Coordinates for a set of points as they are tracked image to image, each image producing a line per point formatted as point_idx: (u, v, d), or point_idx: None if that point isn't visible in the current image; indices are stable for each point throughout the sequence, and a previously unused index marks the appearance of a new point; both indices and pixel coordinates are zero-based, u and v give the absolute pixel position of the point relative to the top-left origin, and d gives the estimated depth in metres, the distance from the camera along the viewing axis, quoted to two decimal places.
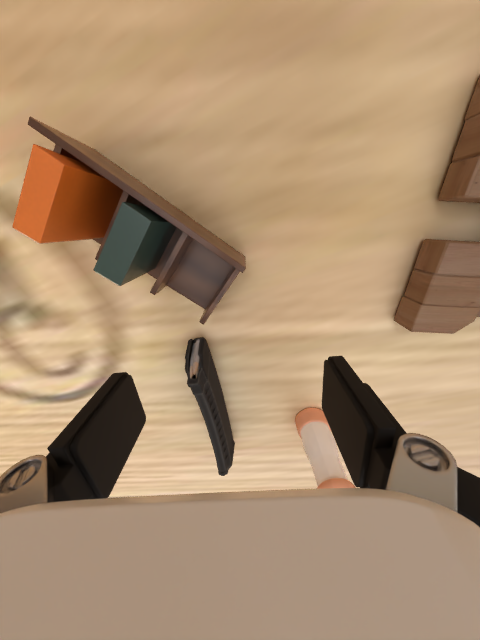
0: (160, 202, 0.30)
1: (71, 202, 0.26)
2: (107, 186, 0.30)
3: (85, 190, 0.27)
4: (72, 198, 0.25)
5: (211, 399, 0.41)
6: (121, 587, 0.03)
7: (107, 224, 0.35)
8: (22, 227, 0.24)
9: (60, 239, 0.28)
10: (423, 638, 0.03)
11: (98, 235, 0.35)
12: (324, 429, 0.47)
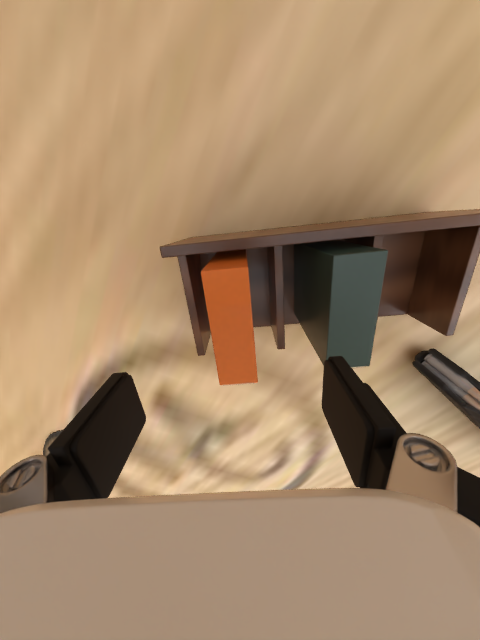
0: (324, 226, 0.20)
1: None
2: None
3: None
4: None
5: None
6: (121, 587, 0.03)
7: None
8: (231, 378, 0.17)
9: None
10: (423, 638, 0.03)
11: None
12: None
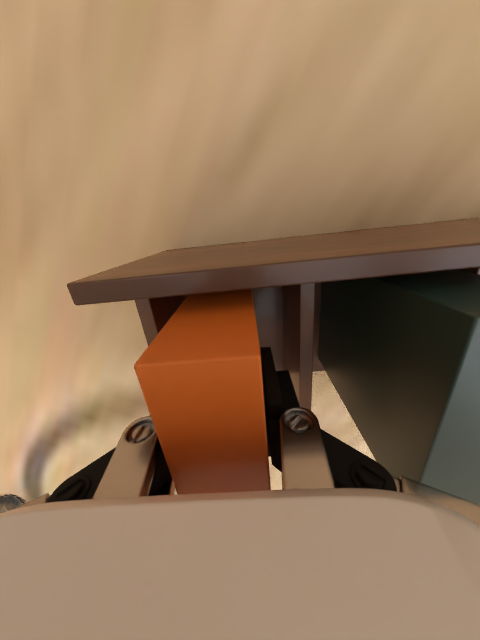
0: (392, 236, 0.11)
1: None
2: None
3: None
4: None
5: None
6: (121, 587, 0.03)
7: None
8: None
9: None
10: (423, 638, 0.03)
11: None
12: None
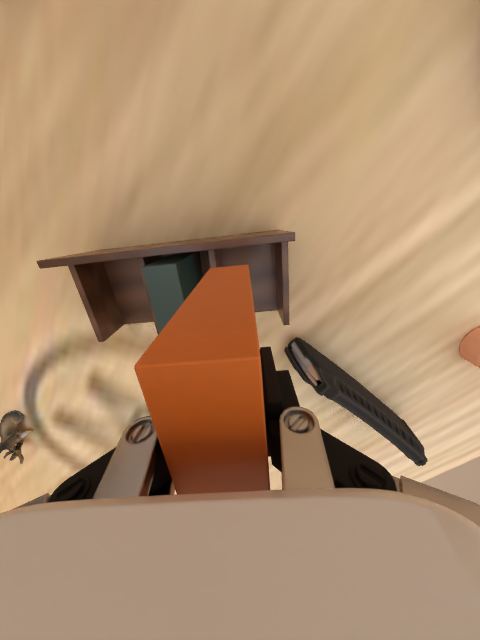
0: None
1: None
2: None
3: None
4: None
5: (351, 392, 0.34)
6: (121, 587, 0.03)
7: None
8: None
9: None
10: (422, 637, 0.03)
11: None
12: None
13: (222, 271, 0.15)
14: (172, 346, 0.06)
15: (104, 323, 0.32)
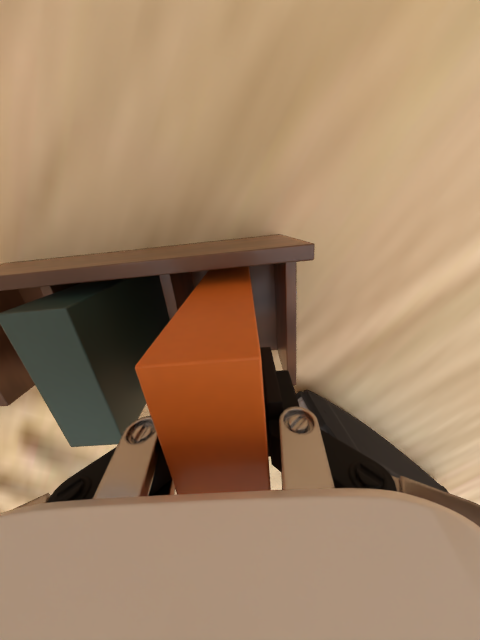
0: (95, 259, 0.16)
1: None
2: None
3: None
4: None
5: None
6: (121, 587, 0.03)
7: None
8: None
9: None
10: (423, 638, 0.03)
11: None
12: None
13: (222, 271, 0.15)
14: (173, 346, 0.06)
15: (11, 376, 0.21)
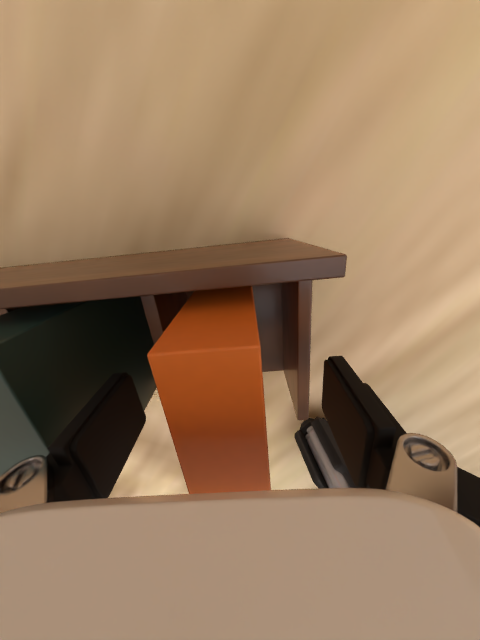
0: (58, 270, 0.12)
1: None
2: None
3: None
4: None
5: None
6: (121, 587, 0.03)
7: None
8: None
9: None
10: (423, 639, 0.03)
11: None
12: None
13: None
14: (180, 337, 0.07)
15: None
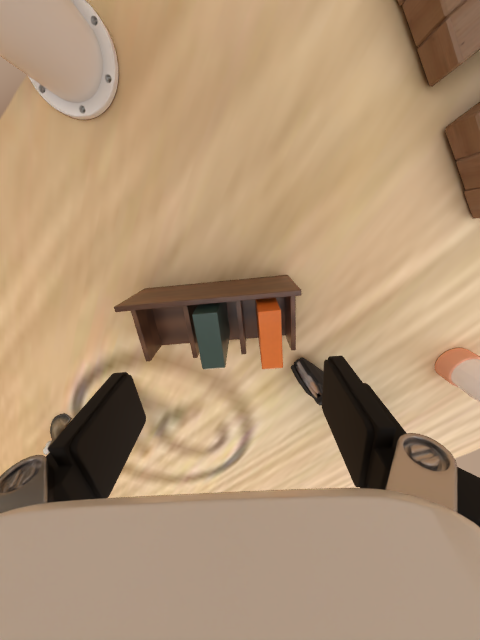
0: (207, 290, 0.36)
1: None
2: None
3: None
4: None
5: None
6: (121, 587, 0.03)
7: None
8: (268, 365, 0.32)
9: None
10: (424, 638, 0.03)
11: None
12: (477, 365, 0.41)
13: None
14: (263, 309, 0.30)
15: (150, 346, 0.41)
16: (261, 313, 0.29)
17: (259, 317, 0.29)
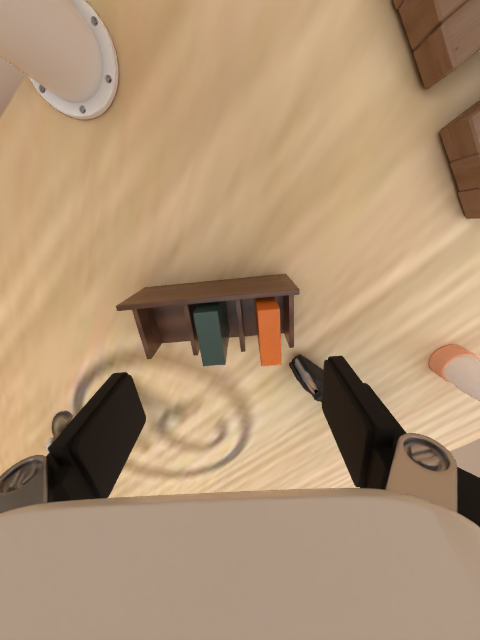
0: (208, 289, 0.36)
1: None
2: None
3: None
4: None
5: None
6: (121, 587, 0.03)
7: None
8: (267, 362, 0.33)
9: None
10: (423, 638, 0.03)
11: None
12: (469, 361, 0.42)
13: None
14: (262, 308, 0.31)
15: (151, 344, 0.42)
16: (260, 312, 0.30)
17: (258, 316, 0.30)
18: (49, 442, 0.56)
